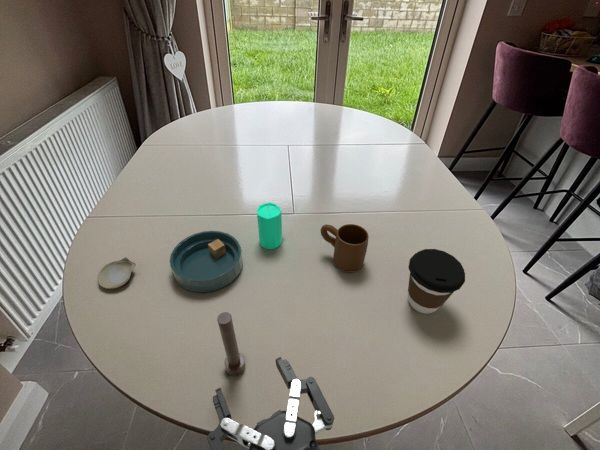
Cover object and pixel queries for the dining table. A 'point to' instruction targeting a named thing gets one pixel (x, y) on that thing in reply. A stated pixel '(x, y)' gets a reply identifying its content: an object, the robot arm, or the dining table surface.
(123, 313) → the dining table surface
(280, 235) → the candle
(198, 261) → the bowl
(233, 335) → the muddler
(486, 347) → the dining table surface
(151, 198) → the dining table surface
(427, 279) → the coffee cup
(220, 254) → the block
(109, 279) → the seashell
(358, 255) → the mug
